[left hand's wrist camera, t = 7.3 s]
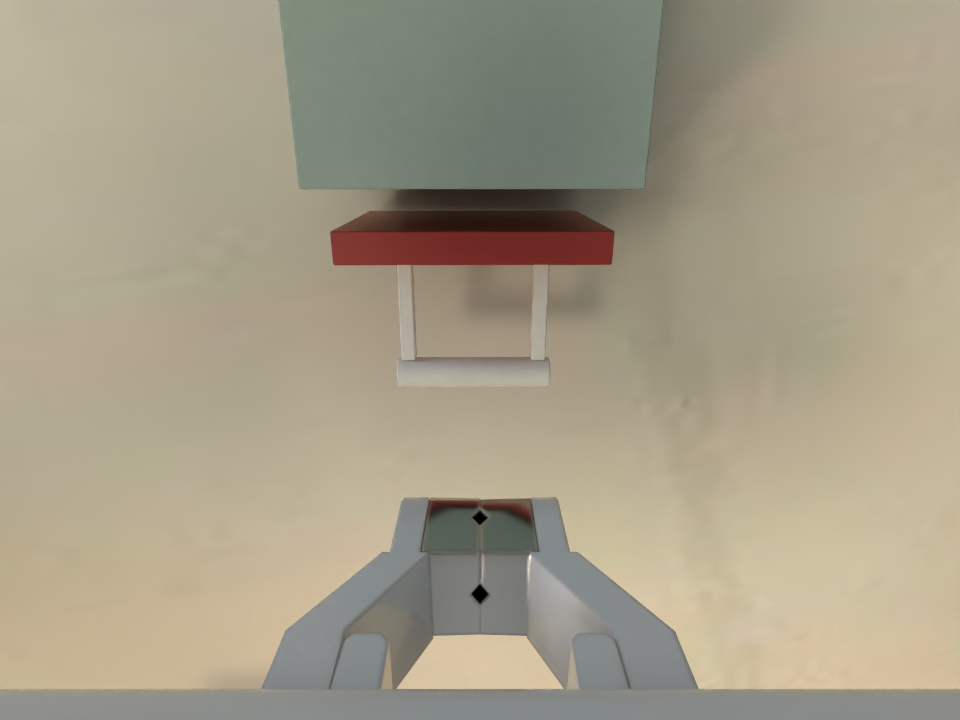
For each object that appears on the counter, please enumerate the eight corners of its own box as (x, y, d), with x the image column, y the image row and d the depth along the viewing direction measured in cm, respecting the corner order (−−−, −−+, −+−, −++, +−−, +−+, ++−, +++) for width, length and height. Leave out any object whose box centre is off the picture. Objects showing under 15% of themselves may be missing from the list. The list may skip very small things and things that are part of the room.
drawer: (568, 346, 29) (599, 409, 22) (378, 347, 29) (346, 410, 21) (601, -199, 21) (667, -384, 14) (341, -200, 21) (271, -387, 14)
